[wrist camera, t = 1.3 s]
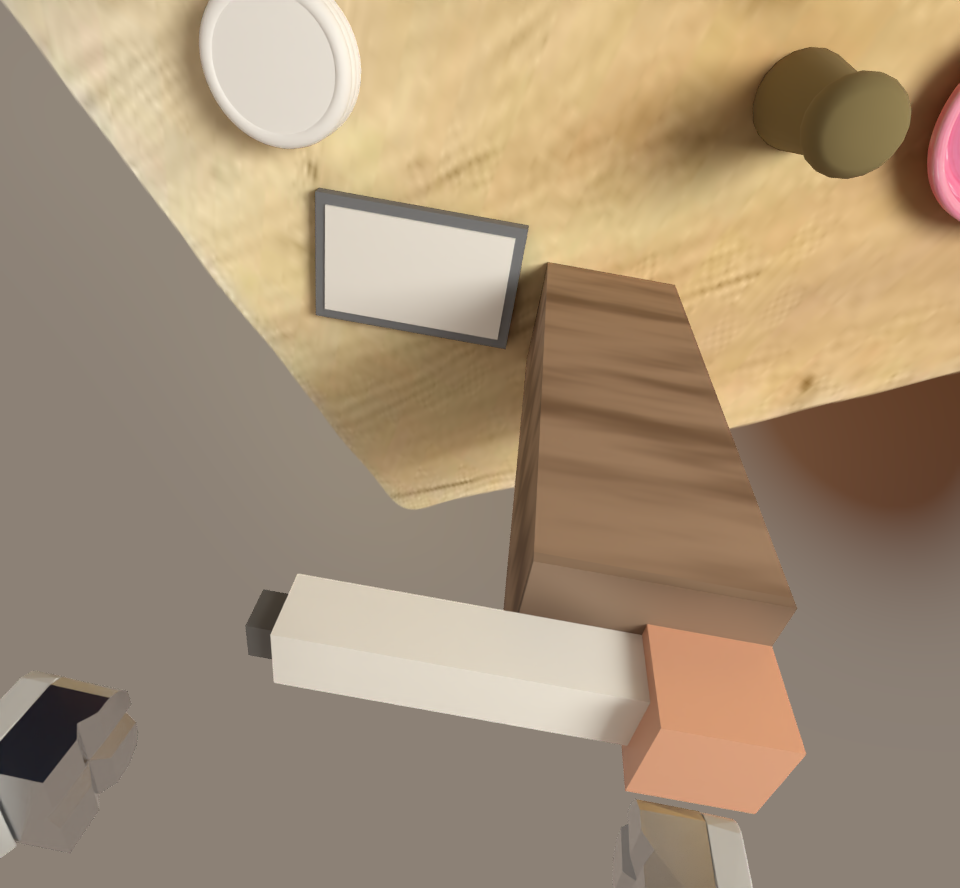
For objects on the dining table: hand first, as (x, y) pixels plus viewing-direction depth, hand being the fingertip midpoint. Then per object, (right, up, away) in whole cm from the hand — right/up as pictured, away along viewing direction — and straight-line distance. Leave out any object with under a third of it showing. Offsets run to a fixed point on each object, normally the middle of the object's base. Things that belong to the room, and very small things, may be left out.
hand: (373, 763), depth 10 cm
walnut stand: (+11, +15, +42) cm, 46 cm away
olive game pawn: (+23, +28, +32) cm, 48 cm away
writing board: (-3, +19, +41) cm, 45 cm away
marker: (+3, -3, +16) cm, 17 cm away
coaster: (-11, +31, +34) cm, 47 cm away
